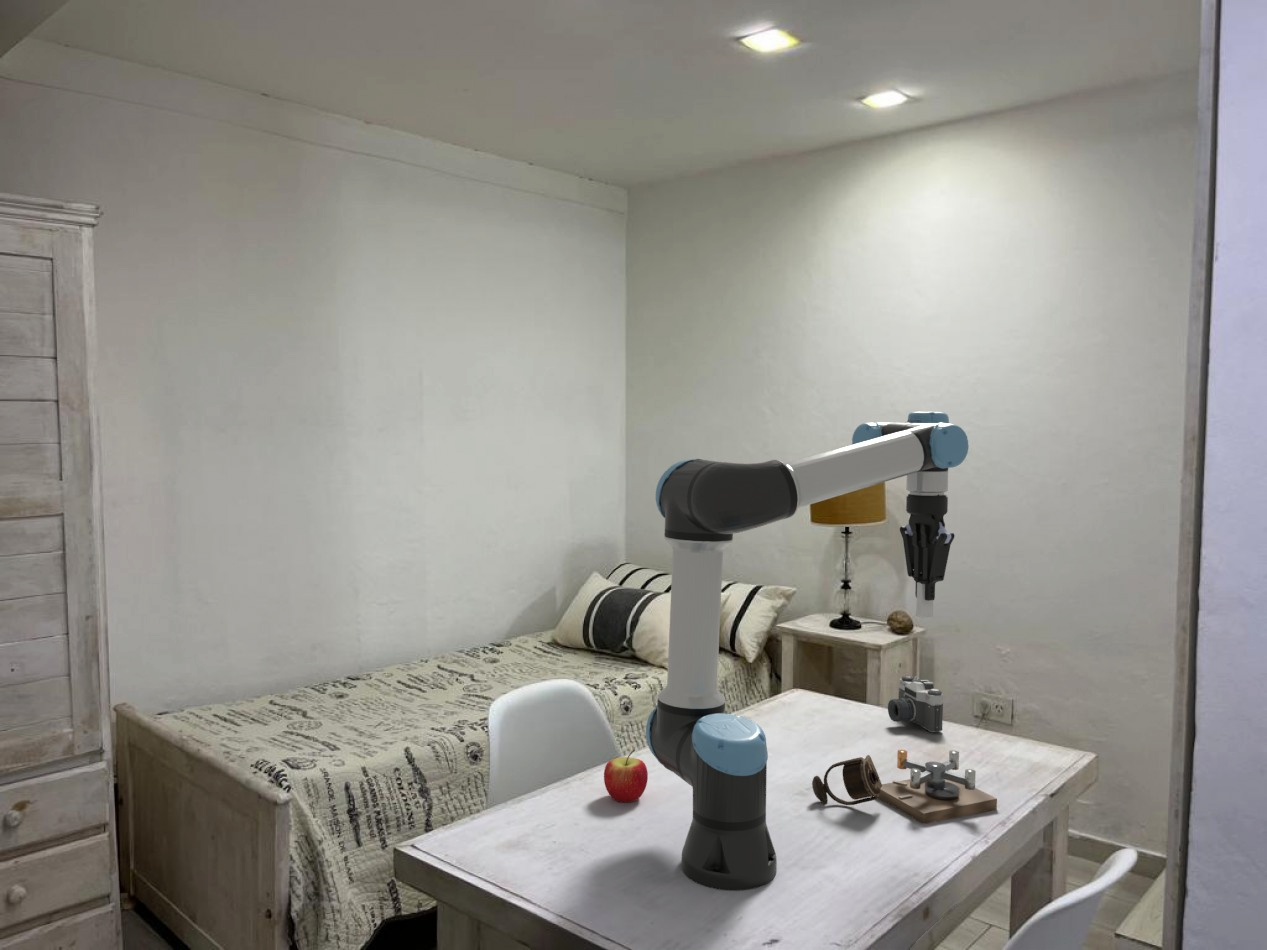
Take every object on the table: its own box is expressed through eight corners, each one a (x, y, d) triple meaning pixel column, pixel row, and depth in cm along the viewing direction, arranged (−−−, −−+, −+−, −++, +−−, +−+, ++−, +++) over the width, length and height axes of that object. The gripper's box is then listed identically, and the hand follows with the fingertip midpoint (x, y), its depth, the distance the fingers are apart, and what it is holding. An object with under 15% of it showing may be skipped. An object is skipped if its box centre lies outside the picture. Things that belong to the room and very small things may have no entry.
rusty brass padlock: (883, 820, 175) (884, 765, 174) (811, 814, 177) (812, 760, 177) (881, 804, 182) (882, 752, 181) (811, 798, 184) (812, 747, 184)
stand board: (923, 824, 173) (923, 811, 173) (873, 795, 186) (873, 783, 186) (996, 809, 180) (997, 797, 179) (943, 782, 193) (944, 770, 192)
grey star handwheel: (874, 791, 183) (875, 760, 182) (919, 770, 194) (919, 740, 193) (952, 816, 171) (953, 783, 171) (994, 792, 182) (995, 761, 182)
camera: (874, 714, 236) (875, 673, 236) (912, 711, 239) (913, 671, 238) (907, 734, 221) (908, 691, 221) (947, 731, 224) (948, 688, 223)
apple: (639, 811, 178) (640, 758, 178) (596, 805, 181) (596, 752, 181) (653, 794, 186) (653, 743, 186) (612, 789, 189) (612, 738, 188)
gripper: (967, 495, 179) (964, 621, 181) (920, 490, 191) (917, 608, 193) (934, 496, 176) (932, 624, 178) (889, 491, 188) (886, 611, 190)
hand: (924, 616), depth 185 cm, fingers closed
